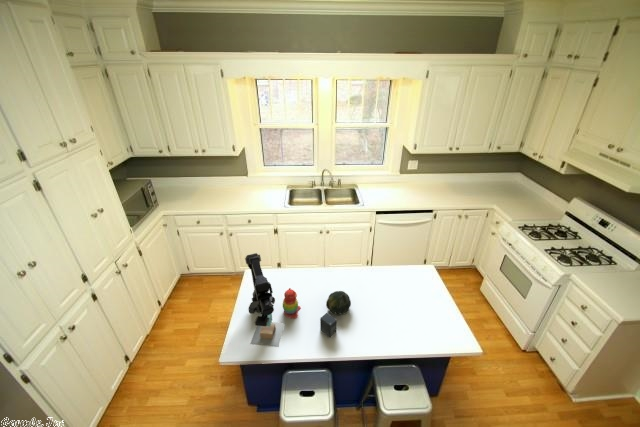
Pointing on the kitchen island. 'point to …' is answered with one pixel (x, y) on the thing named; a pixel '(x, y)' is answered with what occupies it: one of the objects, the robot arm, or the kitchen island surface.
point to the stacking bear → (291, 304)
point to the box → (328, 325)
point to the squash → (338, 302)
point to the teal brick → (269, 319)
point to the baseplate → (268, 342)
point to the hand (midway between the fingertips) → (266, 321)
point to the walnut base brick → (267, 331)
